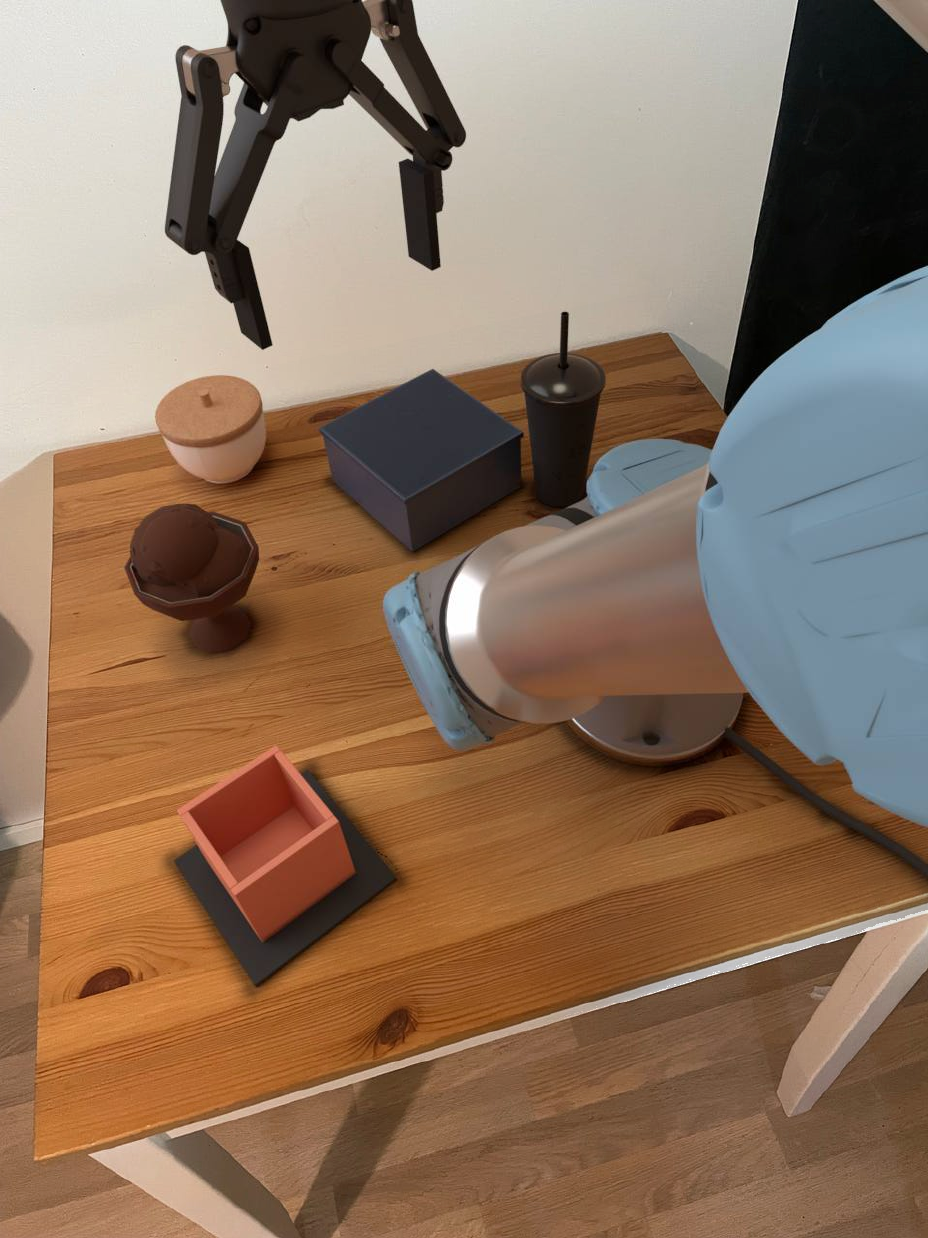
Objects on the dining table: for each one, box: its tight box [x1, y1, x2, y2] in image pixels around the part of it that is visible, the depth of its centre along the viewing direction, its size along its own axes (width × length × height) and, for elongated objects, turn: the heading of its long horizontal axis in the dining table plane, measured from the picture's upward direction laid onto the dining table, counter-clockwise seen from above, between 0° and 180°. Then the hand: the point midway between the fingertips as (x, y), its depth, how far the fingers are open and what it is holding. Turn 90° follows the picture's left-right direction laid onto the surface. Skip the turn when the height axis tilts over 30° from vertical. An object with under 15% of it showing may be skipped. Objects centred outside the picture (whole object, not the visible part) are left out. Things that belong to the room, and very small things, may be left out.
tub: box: [176, 744, 356, 942], centre depth 65 cm, size 8×8×8 cm
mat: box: [173, 769, 398, 987], centre depth 68 cm, size 12×12×1 cm
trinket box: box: [154, 374, 267, 485], centre depth 96 cm, size 11×11×9 cm
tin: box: [318, 368, 525, 553], centre depth 93 cm, size 14×14×7 cm
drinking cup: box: [519, 311, 607, 508], centre depth 86 cm, size 8×8×20 cm
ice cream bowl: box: [123, 503, 260, 654], centre depth 78 cm, size 11×11×15 cm
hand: (344, 299), depth 62 cm, fingers open, 13 cm apart
